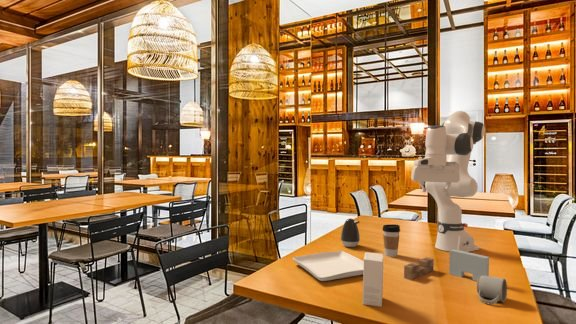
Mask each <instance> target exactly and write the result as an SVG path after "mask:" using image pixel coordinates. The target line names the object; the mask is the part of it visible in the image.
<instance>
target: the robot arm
mask: <svg viewBox="0 0 576 324" xmlns="http://www.w3.org/2000/svg"><path fill="white" fill-rule="evenodd" d="M485 133H486V127H485V124H484V123H483V122H481V121H476V120H475V121H471V118H470V115H469V114H468V113H467V112H466V111H462V110H458V111H456V112H453V113H451V114H450V115H449V116H448V117H447V118H446V119H445V121H444V122H443V123H442V124H441V125H431V126H429V127H427V129H426V133H425V134H426V135H425V141H424V142H425V143H424V144H425V145H424V146H425V154H424V157H422V158H419V159H415V160H414V161H413V164H414V166H412V169H411V174H410V175H411V176H410V178H411V181H412V182H415V183H416V182H418V183H419V186H420V187H421V193H426V192H427V193H428V194H430V195H431V197H433V199H434V201H435V202H436V205H437V209H438V211H437V213H438V221H437V234H436V241H435V245H434V248H436V249H437V250H440V251H441V250H442V251H444V252H450V250H452V249H455V250H460V251H464V252H469V253H471V252H475V251H478V250H480V247H479V246H478V245H476V244H475V239H474V237H473V236H472V235H471V234H470V233H469V232H468V231H466V230H465V228H468V227H469V225H468V223H465V222H463V223H462V217H463V216H462V214H463V213H462V208H461V207H460V205H459V204H457V203H455V202H453V200H452V197H456V198H469V197H474V196H475V195H476V194H477V192H478V188H479V187H478V183H477V181H476V179H475V178H474V177H473V176H471V175H470V174H469V170H468V169H469V168H468V167H469V163H470V159H471V153H472V152H473V149H474V145H476V144H477V143H478V142H480V141H481V140H482V139H483V138H484V136H485Z"/></svg>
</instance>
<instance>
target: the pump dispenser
mask: <svg viewBox="0 0 576 324" xmlns="http://www.w3.org/2000/svg"><path fill="white" fill-rule="evenodd" d="M358 224H360V221H359V220H357V221H355V220H354V218H348V219H346V220H345V222H344V223H343V226H342V229H341V232H340V240H341V243H342V245H343V246H344V247H346V248H355V247H357V246H358V245H359V243H360V241H361V236H360V230H359V227H358Z"/></svg>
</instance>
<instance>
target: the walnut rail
mask: <svg viewBox="0 0 576 324" xmlns="http://www.w3.org/2000/svg"><path fill="white" fill-rule="evenodd" d="M434 264H435V263H434V258H431V257H427V256H425V257H424V258H421V259H419V260H418V263H416V262H414V261H413V262H410V263H408V264H405V265H403V278H404V279H406V280H409V281H412V280H414V279H417V278H419V277H421V276H423V275H426V274H428V273H431V272H433V271H434Z"/></svg>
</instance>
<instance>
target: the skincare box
mask: <svg viewBox="0 0 576 324" xmlns="http://www.w3.org/2000/svg"><path fill="white" fill-rule="evenodd" d="M363 261H364V269H363V277H362V305H365V306H371V307H372V306H373V307H380V308H381V307H383V292H384V291H383V290H384V254H383V253H378V252H368V251H367V252H364V256H363Z"/></svg>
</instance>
